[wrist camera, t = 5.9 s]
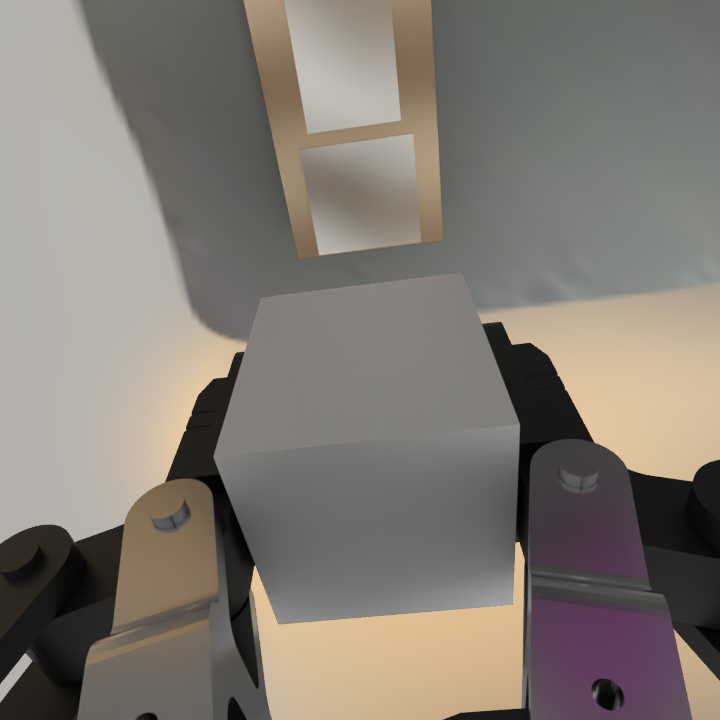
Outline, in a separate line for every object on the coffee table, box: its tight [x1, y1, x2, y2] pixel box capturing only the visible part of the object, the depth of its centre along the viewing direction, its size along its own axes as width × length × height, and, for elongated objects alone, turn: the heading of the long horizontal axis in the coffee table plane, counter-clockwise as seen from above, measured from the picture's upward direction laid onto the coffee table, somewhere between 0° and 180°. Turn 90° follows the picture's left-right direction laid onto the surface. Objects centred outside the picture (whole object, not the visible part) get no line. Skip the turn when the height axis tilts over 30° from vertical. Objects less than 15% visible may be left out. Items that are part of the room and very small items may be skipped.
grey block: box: [213, 273, 520, 624], centre depth 10 cm, size 4×4×4 cm
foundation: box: [244, 0, 443, 259], centre depth 20 cm, size 14×6×3 cm, turn 8°
